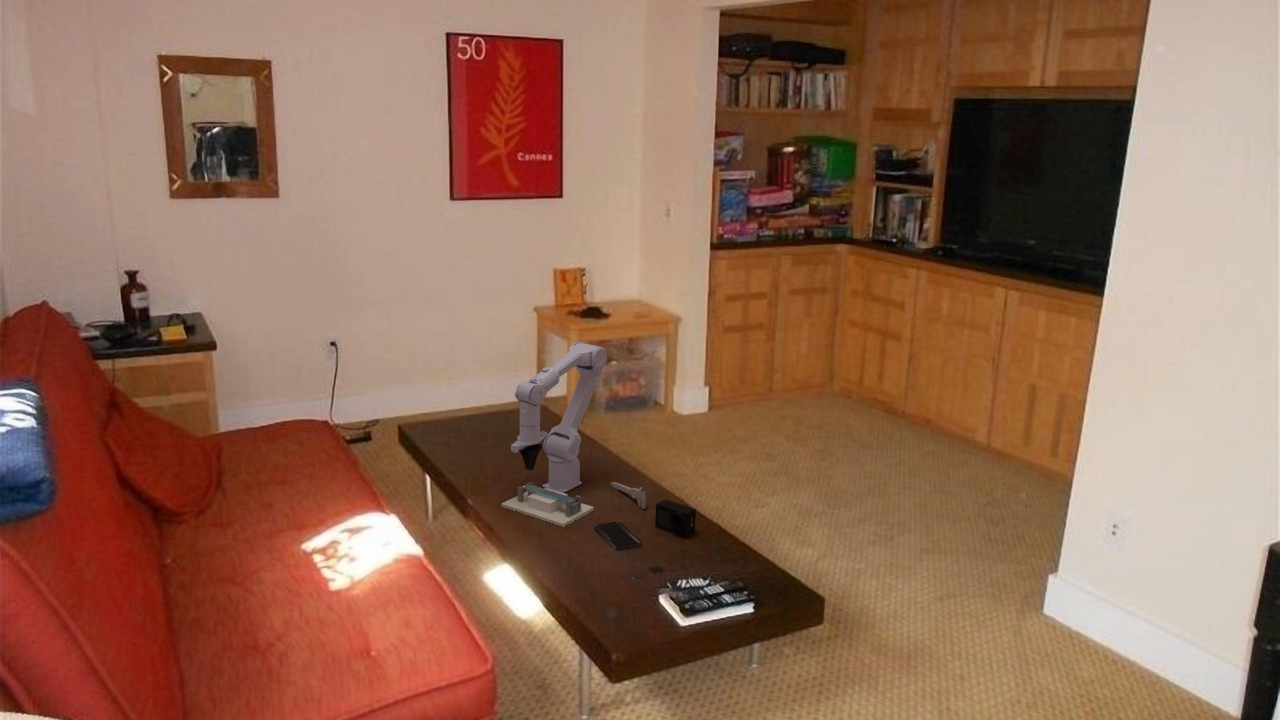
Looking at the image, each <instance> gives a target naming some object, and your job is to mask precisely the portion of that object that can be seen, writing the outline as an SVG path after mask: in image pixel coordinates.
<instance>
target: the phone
mask: <svg viewBox="0 0 1280 720" xmlns="http://www.w3.org/2000/svg"><path fill="white" fill-rule="evenodd" d="M593 530H594V531H595V532H596V533H597V534H598V535H599V536H600V537H601V538H602V539H603V540H604V541H605V542H606V543H607V544H608V545H609V546H610V547H611V548H612V549H613V550H614V551H617V552H623V551H626V550H631V549H636V548H641V547H642V546H643V541H641V540H640V539H639V538H638V537H637V536H636V535H635V534H634V533H633V532H631V531H630V530H629V528H627V527H626V526H625V525H624V524H623V523H622V522H621V521H613V522H611V521H610V522H607V523H601V524H596V525H594V529H593Z"/></svg>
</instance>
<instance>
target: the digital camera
mask: <svg viewBox="0 0 1280 720" xmlns="http://www.w3.org/2000/svg"><path fill="white" fill-rule="evenodd" d="M696 520H697V509H696V508H693V507H690V506H687V505H684V504H680V503H677V502H676V501H675V502H674V501H671V500H668V499H666V498H665V499H663V500H661V501H659V502H657V503H655V520H654V521H655V528H657V529H660V530H662V531H663V530H664V531H666V532H669V533H672V534H674V535H677V536H681V537H683V538H688V537H690V536H691V535H693V534H695V533H696Z"/></svg>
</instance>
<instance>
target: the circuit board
mask: <svg viewBox="0 0 1280 720" xmlns="http://www.w3.org/2000/svg"><path fill="white" fill-rule="evenodd" d="M648 571H650V572H651V573H652V574H654V575H658V574H661V573H663V572H664V573H665V572H666V571H665V570H664V569H663V568H662V567H660V566H659V565H657V566H653V567H650V568H648ZM630 577H631V578H632V579H633V580H641V579H643V577H642V576H641V575H639V574H638V573H637V574H634V575H631V576H630Z"/></svg>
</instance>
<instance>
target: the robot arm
mask: <svg viewBox="0 0 1280 720" xmlns="http://www.w3.org/2000/svg"><path fill="white" fill-rule="evenodd" d="M607 361H608V357H607V352H606V350H605V348H604V347H603V346H597V345H593V344H589V343H585V342H582V341H575V342H574V343H573V344H572V345H570V346H569V348H568V352H567V353H566V354H565V355H564V356H563V357H562V358H561V359H560V360H559V361H558V362H556V363H555V365H553V366H552V367H550V366H549V367H547V366H546V367H543V368H541V371H540V372H538V373H537V374H536V375H535V376H533V377H532V378H531V379H530V380H528V381H526V380H525V381H522V382H521V383H519V384H518V385H517V388H516V392H514V397H515V399H516V400H517V405H518V407H519V435H518V436H517V437H516V439H517V440H516V441H514V443H512V444H511V445H510V451H511V452H512V453H517V454H518V453H520V455H521V458H522V460H523V464H524V467H525V470H528V471H532V470H534V469H535V466H536V461H537V459H538V456H539V453H540V452H541V450H542V449H543V451H544V453H545V454H546V458H548V482H546V483H544V484H543V485H542V487H541V488H548V489H551V490H555V491H558V492H561V493H564V494H565V493H566V492H568V491H570V490H572V489H574V488H576V487H578V486H580V485H582V481H580V474H581V473H580V472H581V469H580V468H581V467H580V466H581V465H580V464H581V463H580V460H579V458H578V457H577V456H579V455H578V454H579V452H580V446H581V443H582V437H581V435H580V433H579V431H578V430H579V427H580V425H581V423H582V420H583V419H584V416H585V413H586V410H587V409H588V406H589V403H590V401H591V399H592V398H593V394H594V391H595V390H596V387H597V385H598V382H599V380H600V377H601V375H602V372H603V370H604V368H605V366H606V363H607ZM574 368H576V370H577V371H578V373H579V375H580V376H579V377H580V378H579V379H578V381H577V384H576V386H575V389H574V391H573V394H572V396H571V399H570V401H569V403H568V405H567V408H566V410H565V413H564V414H563V417H562V419H561V422H560V423H559V424H558V425H555V426H554V427H551V429H550V431H549V432H547V431H543V430H542V431H541V404H542V403H543V401H544V399H545V396H546V395H547V394H548V393H549V391H551V390H552V389H553V388H555V387H556V386H557V385H558V384H559V382H560V378H561V377H562V376H563V375H565V374H567V373H568V372H570V371H571V370H572V369H574ZM542 441H543V444H540V443H541V442H542Z"/></svg>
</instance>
